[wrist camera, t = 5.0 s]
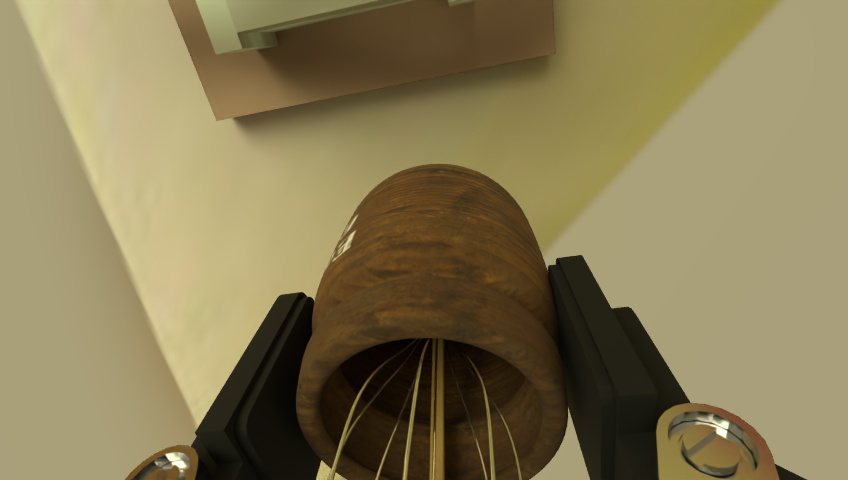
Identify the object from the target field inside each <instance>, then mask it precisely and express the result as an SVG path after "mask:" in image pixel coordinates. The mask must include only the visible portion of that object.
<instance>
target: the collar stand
mask: <svg viewBox="0 0 848 480" xmlns="http://www.w3.org/2000/svg"><path fill="white" fill-rule="evenodd" d="M168 1H169V4H170V6H171V9H172V11H173V14H174V16H175V19H176V21H177V24H178V26H179V29H180V31H181V34H182V36H183V39H184V41H185V43H186V46H187V48H188V51H189V53H190V56H191V58H192V61H193V63H194V66H195V68H196V71H197V73H198V76H199V78H200V81H201V83H202V86H203V88H204V91H205V93H206V96H207V98H208V100H209V103H210V105H211V108H212V110H213V113H214V115H215V118H216V120H217V121H219V120H224V119H229V118H234V117H239V116H244V115H249V114H254V113H259V112H264V111H269V110H274V109H279V108H284V107H289V106H294V105H299V104H304V103H309V102H314V101H319V100H324V99H329V98H334V97H339V96H344V95H349V94H354V93H359V92H364V91H369V90H374V89H379V88H385V87H390V86H395V85H400V84H405V83H410V82H415V81H420V80H425V79H430V78H435V77H440V76H445V75H450V74H455V73H460V72H465V71H470V70H475V69H480V68H485V67H490V66H495V65H500V64H505V63H510V62H515V61H520V60H525V59H530V58H535V57H540V56H546V55H551V54H555V39H554V18H553V0H168Z"/></svg>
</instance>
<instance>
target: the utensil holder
mask: <svg viewBox="0 0 848 480" xmlns="http://www.w3.org/2000/svg"><path fill="white" fill-rule="evenodd" d="M558 348H559V327H558V318H557V310H556V305H555V300H554V295H553V291H552V287H551V283H550V280H549V276H548V270H547V268H546V265H545V262H544V259H543V257H542V254H541V251H540V249H539V246H538V243H537V241H536V238H535V236H534V233H533V231H532V229H531V227H530V224H529V222H528V220H527V218H526V216H525V215H524V213H523V211H522V209H521V208H520V206H519V205H518V204H517V202H516V201H515V200H514V199H513V197H512V196H511V195H510V194H509V193H508V192H507V191H506V190H505V189H504V188H503V187H502V186H500V185H499V184H498V183H496V182H495V181H494V180H492V179H490V178H489V177H487V176H485V175H483V174H481V173H479V172H477V171H474V170H472V169H468V168H465V167H461V166H456V165H449V164H429V165H421V166H416V167H413V168H409V169H406V170H403V171H401V172H399V173H396V174H394V175H392V176H391V177H389V178H387V179H386V180H384V181H383V182H381V183H380V184H379V185H377V186H376V187H375V188H374V189H373V190H372V191H371V192H370V193H369V194H368V195H367V196H366V197H365V198H364V200H363V201H362V202H361V203H360V205H359V206H358V208H357V209H356V211H355V212H354V214H353V216H352V217H351V219H350V221H349V223H348V224H347V226H346V228H345V230H344V232H343V234H342V236H341V238H340V240H339V242H338V244H337V246H336V248H335V250H334V252H333V254H332V256H331V259H330V261H329V263H328V265H327V267H326V269H325V272H324V274H323V277H322V279H321V282H320V285H319V288H318V290H317V294H316V298H315V302H314V308H313V315H312V336H311V338H310V340H309V342H308V345H307V347H306V350H305V353H304V356H303V360H302V364H301V369H300V374H299V380H298V387H297V394H296V411H297V417H298V422H299V425H300V428H301V430H302V433H303V435H304V437H305V439H306V440H307V442H308V444H309V445H310V447H311V448H312V449H313V451H314V452H315V453H316V454H317V456H318V457H319V458H320V459H321V460H322V461H323V462H324V463H325V464H327V465H328V466H329V467H330V468H331V471H330V474H329V477H328V480H334V476H335V472H336V473H338V474H339V475H341V476H342V477H344V478H345V479H347V480H529V479H531V478H532V477H533V476H535V475H536V474H537V473H538V472H540V471H541V470H542V469H543V468H544V467H545V466H546V465H547V464H548V463H549V462H550V461H551V459H552V458H553V457H554V455H555V454H556V452H557V451H558V449H559V447H560V445H561V443H562V441H563V438H564V436H565V432H566V428H567V421H568V401H567V387H566V378H565V371H564V367H563V363H562V359H561V357H560V354H559V351H558Z"/></svg>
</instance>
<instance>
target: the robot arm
mask: <svg viewBox="0 0 848 480" xmlns="http://www.w3.org/2000/svg"><path fill="white" fill-rule="evenodd" d="M548 276H549V280H550V283H551V287H552V291H553V295H554V300H555V305H556V310H557V318H558V327H559V348H558V351H559V354H560V357H561V359H562V363H563V367H564V371H565V378H566V387H567V401H568V408H569V410H570V414H571V418H572V420H573V424H574V427H575V431H576V434H577V437H578V441H579V444H580V447H581V451H582V454H583V457H584V460H585V464H586V467H587V471H588V474H589V477H590V480H806V479H804V478H802V477H800V476H798V475H796V474H794V473H792V472H790V471H788V470H786V469H784V468H782V467H780V466H778V465H776V464H775V463H774V460H773V456H772V454H771V452H770V450H769V448H768V446H767V444H766V442H765V440H764V439H763V438H762V437H761V436H760V434H759V433H758V432H757V431H756V430H755V429H754V428H753V427H752V426H751V425H749V424H748V423H746V422H745V421H744V420H742V419H741V418H740V417H738V416H736V415H734V414H732V413H730V412H728V411H725V410H723V409H721V408H717V407H714V406H710V405H706V404H697V403H690V401H689V399H688V398H687V396H686V395H685V393H684V392H683V390H682V388H681V387H680V385H679V383H678V382H677V380H676V379H675V377H674V375H673V374H672V372H671V371H670V369H669V367H668V366H667V364H666V362H665V361H664V359H663V358H662V356H661V354H660V353H659V351H658V350H657V348H656V346H655V345H654V343H653V341H652V340H651V338H650V337H649V335H648V333H647V332H646V330H645V329H644V327H643V325H642V324H641V322H640V321H639V319H638V317H637V316H636V314H635V313H634V311H633V310H632V309H631V308H629V307H621V308H614V309H611V307H610V305H609V303H608V301H607V300H606V298H605V296H604V294H603V292H602V291H601V289H600V287H599V285H598V283H597V282H596V280H595V278H594V276H593V274H592V272H591V271H590V269H589V267H588V265H587V263H586V262H585V260H584V258H583V256H582V255H578V256H570V257H563V258H557V259H556V265H549V266H548ZM313 308H314V300H313V298H312V297H307V296H306V295H305V294H304V293H303V292H299V293H291V294H284V295H280V296H279V297H278V298H277V300H276V301H275V303H274V304H273V306H272V308H271V309H270V311H269V313H268V314H267V316H266V318H265V319H264V321H263V322H262V324H261V326H260V327H259V329H258V331H257V332H256V334H255V336H254V337H253V339H252V340H251V342H250V344H249V345H248V347H247V349H246V350H245V352H244V354H243V355H242V357H241V358H240V360H239V362H238V363H237V365H236V367H235V368H234V370H233V371H232V373H231V375H230V376H229V378H228V380H227V381H226V383H225V385H224V386H223V388H222V389H221V391H220V393H219V394H218V396H217V398H216V399H215V401H214V403H213V404H212V406H211V407H210V409H209V411H208V412H207V414H206V416H205V417H204V419H203V420H202V422H201V424H200V425H199V427H198V429H197V430H196V432H195V434H196V435H197V437H196V439H195V440H194V442H193V444H192V445H191V447H190V446H188V445H177V446H172V447H168V448H166V449H163V450H162V451H159V452H157V453H155V454H153V455H152V456H150V457H149V458H148V459H146V460H145V461H143V462H142V463H141V464H140V465H139V466H137V467H136V468H135V469H134V470H133V471H132V472H131V473H130V474H129V475H128V477H127V478H126V479H125V480H316V477H317V473H318V470H319V466H320V463H321V459H320V458H319V457H318V456H317V454H316V453H315V452H314V451H313V449H312V448H311V447H310V445H309V444H308V442H307V440H306V439H305V437H304V435H303V433H302V430H301V428H300V425H299V422H298V417H297V411H296V394H297V387H298V380H299V374H300V369H301V364H302V360H303V356H304V353H305V350H306V347H307V345H308V342H309V340H310V338H311V336H312V315H313Z"/></svg>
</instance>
